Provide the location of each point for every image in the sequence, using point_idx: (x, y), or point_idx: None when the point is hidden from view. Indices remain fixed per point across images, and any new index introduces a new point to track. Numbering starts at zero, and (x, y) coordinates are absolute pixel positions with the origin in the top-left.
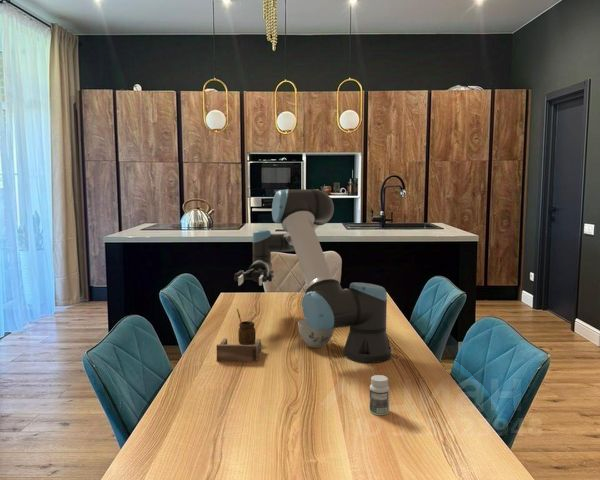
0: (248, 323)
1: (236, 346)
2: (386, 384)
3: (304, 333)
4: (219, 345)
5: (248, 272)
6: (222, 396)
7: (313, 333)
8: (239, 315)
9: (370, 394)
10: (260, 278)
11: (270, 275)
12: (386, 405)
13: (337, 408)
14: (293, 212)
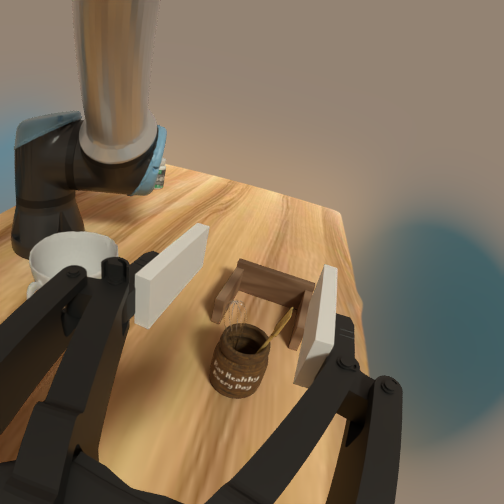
0: (236, 358)
1: (276, 271)
2: None
3: None
4: (309, 281)
5: (249, 471)
6: (286, 237)
7: (104, 248)
8: (277, 326)
9: (164, 173)
10: (200, 225)
11: (78, 268)
12: None
13: (184, 196)
14: None
